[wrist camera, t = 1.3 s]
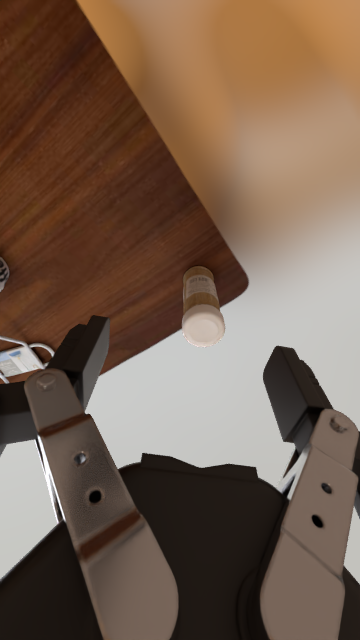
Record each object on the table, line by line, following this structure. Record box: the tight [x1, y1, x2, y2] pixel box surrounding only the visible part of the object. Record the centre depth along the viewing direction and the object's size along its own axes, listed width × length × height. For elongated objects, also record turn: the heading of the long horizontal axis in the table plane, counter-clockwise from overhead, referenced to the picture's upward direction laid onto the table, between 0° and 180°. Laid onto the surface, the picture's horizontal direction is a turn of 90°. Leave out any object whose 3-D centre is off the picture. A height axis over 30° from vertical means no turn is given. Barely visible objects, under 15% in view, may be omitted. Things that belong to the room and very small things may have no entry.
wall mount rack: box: [0, 335, 55, 383], centre depth 45 cm, size 16×14×6 cm
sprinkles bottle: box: [182, 266, 225, 347], centre depth 33 cm, size 5×5×13 cm
